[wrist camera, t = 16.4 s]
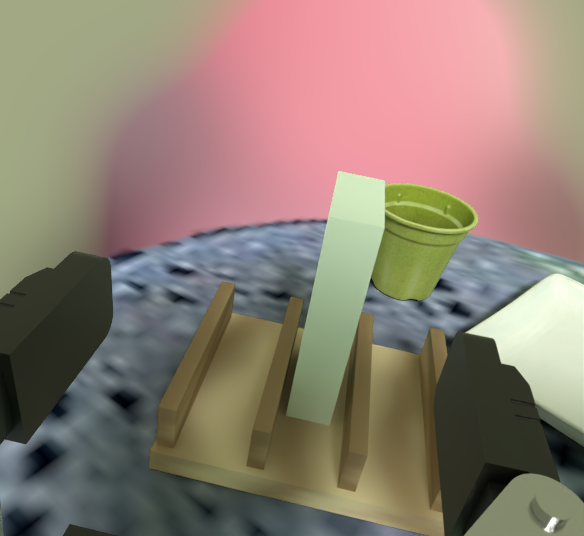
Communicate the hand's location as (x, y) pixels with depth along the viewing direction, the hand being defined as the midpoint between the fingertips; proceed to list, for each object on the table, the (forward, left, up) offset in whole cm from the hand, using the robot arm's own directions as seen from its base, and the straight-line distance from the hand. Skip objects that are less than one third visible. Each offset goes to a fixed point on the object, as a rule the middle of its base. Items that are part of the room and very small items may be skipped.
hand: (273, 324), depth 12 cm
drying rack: (+6, -15, -19) cm, 25 cm away
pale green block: (+7, -16, -18) cm, 25 cm away
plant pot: (+10, -35, -19) cm, 42 cm away
